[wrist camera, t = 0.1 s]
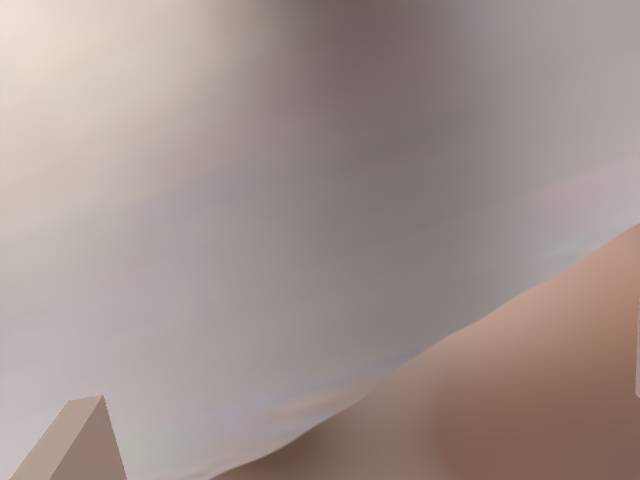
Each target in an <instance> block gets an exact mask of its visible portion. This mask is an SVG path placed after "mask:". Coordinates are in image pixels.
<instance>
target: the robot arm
mask: <svg viewBox="0 0 640 480" xmlns="http://www.w3.org/2000/svg"><path fill="white" fill-rule="evenodd" d="M635 394H636V395H637V396H638V397H639V398H640V297H639V298H638V328H637V362H636V393H635ZM10 480H127V478H126V474H125V471H124V467H123V464H122V460H121V456H120V453H119V449H118V446H117V442H116V439H115V435H114V432H113V428H112V425H111V421H110V418H109V414H108V411H107V407H106V403H105V400H104V396H103V395H100V396H95V397H89V398H84V399H78V400H73V401H68V403H67V404H66V405H65V407H64V408H63V409H62V411H61V412H60V413H59V415H58V416H57V417H56V419H55V420H54V421H53V423H52V424H51V425H50V427H49V428H48V429H47V431H46V432H45V433H44V435H43V436H42V437H41V439H40V440H39V441H38V443H37V444H36V445H35V447H34V448H33V449H32V451H31V452H30V453H29V455H28V456H27V457H26V459H25V460H24V461H23V462H22V464H21V465H20V466H19V468H18V469H17V470H16V472H15V473H14V474H13V476H12V477H11V478H10Z"/></svg>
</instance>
